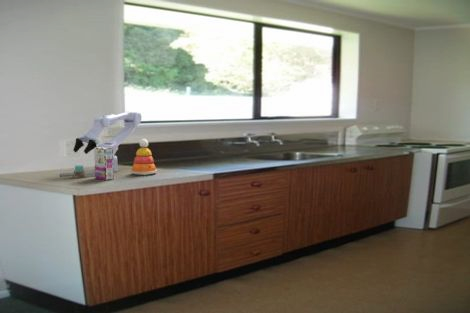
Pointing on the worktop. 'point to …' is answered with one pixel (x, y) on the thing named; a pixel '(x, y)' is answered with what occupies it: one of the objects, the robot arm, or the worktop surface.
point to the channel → (79, 174)
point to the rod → (89, 174)
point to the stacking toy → (143, 160)
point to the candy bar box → (104, 163)
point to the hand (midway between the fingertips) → (79, 151)
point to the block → (79, 168)
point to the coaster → (67, 174)
